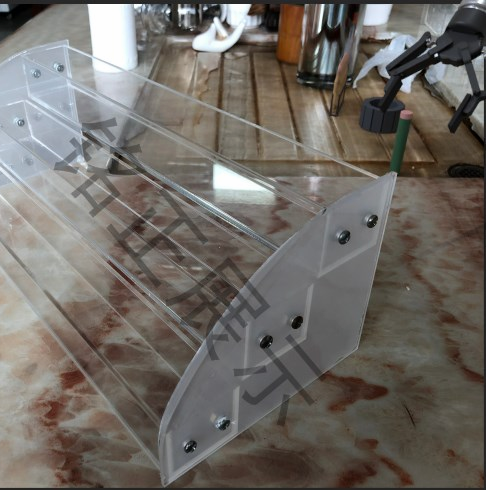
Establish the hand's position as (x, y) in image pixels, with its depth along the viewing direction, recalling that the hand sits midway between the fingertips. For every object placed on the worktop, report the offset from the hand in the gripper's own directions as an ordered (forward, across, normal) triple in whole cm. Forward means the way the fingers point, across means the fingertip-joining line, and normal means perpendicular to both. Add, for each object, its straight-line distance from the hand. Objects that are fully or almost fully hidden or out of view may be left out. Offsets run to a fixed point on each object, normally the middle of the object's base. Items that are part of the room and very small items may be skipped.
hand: (414, 119), depth 108 cm
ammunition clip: (-5, +27, -19) cm, 34 cm away
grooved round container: (-4, +14, -17) cm, 23 cm away
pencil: (+9, 0, -4) cm, 10 cm away
